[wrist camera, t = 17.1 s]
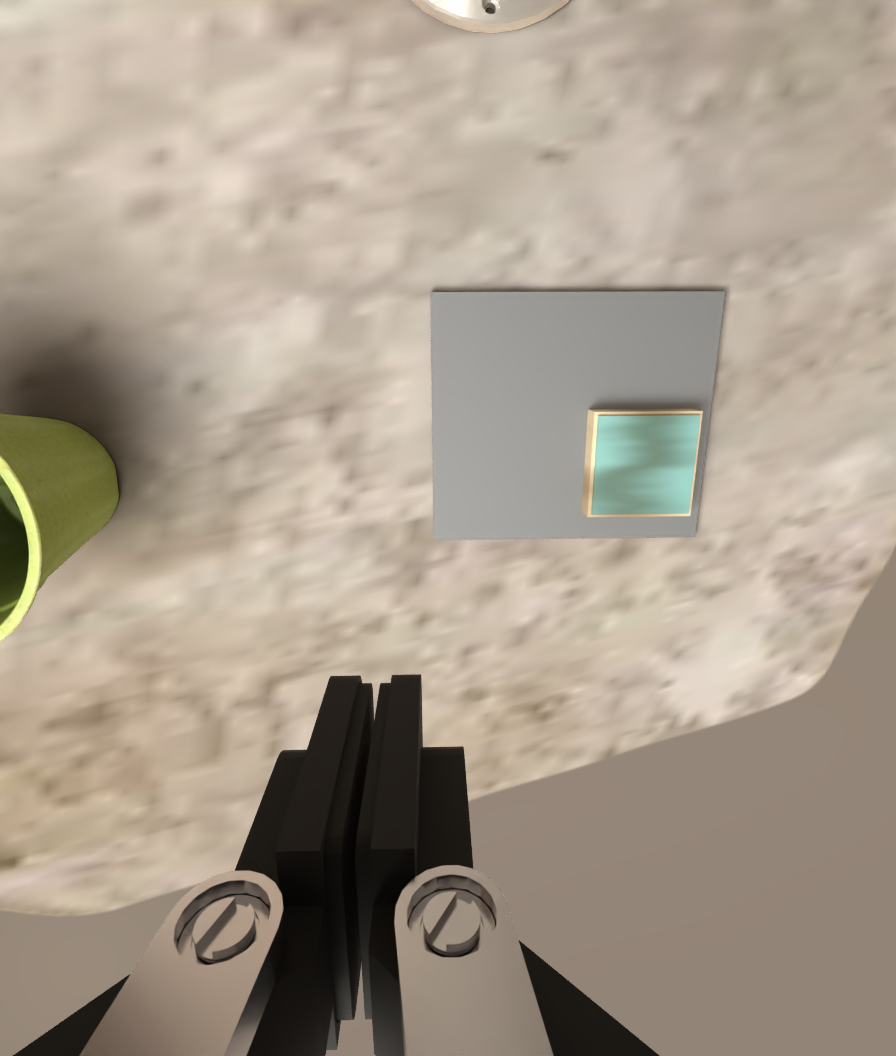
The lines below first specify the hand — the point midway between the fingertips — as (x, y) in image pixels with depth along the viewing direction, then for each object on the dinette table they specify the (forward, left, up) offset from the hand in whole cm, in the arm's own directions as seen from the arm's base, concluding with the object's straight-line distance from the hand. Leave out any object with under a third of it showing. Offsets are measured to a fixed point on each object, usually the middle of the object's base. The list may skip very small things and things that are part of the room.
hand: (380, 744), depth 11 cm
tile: (+2, +13, -24) cm, 27 cm away
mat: (-3, +9, -25) cm, 27 cm away
